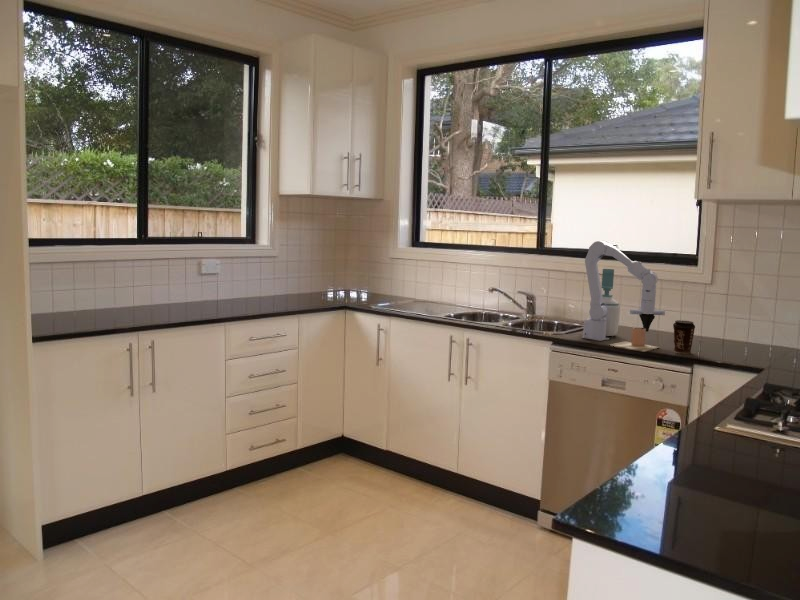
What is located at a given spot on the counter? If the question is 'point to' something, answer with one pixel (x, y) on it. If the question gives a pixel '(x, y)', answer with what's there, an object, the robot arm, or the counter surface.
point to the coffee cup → (683, 336)
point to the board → (632, 347)
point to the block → (638, 336)
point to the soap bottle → (610, 303)
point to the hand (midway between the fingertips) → (645, 331)
